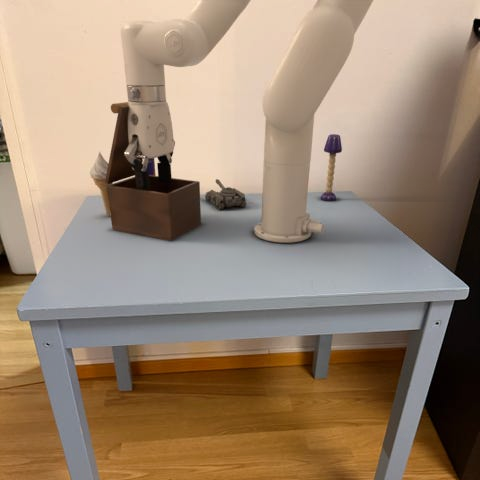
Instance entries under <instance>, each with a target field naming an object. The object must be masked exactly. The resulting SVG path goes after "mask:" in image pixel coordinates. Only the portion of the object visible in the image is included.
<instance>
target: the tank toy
mask: <svg viewBox="0 0 480 480" xmlns="http://www.w3.org/2000/svg"><path fill="white" fill-rule="evenodd" d="M215 184H216V185H218V186H219V188H220V192H219V191H216V190H213V189H210V190H209V191H207V192H205V194H204V198H205V200H206V201H207V202H208V203H210V204H211V205H212V206H214V208H216V209H217V210H218V211H219V210H220V211H221V210H224V209H225V207H228V208H231V207H234V206H235V207H237V206H238V207H239V208H245V207H247V200H246V195H245V193H244V192H242V191H240V190H238V189H236V188H235V187H233V188H232V187H229V186H228V187H227V186H226V187H225V186H224V184H223V183H222V182H221V180H220V179H218V178H216V179H215Z"/></svg>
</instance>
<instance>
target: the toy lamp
mask: <svg viewBox="0 0 480 480" xmlns="http://www.w3.org/2000/svg"><path fill="white" fill-rule="evenodd" d="M341 138H342V137H341V135H340V134H335V133H331V134H329V135H328V136H327V139H326V142H325V144H324V148H323V152H324V153H328V157H329V158H328V166H327V167H328V169H327V177H326V185H325V186H326V187H325V191H324V192H323V193H322V194H321V195H320V200H321V201H325V202H335V201H336V200H337V196H336V194H335V193H334V192H333V186H334V175H335V168H336V157H337V154H341V153H342V151H343V146H342V139H341Z"/></svg>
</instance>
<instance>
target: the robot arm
mask: <svg viewBox="0 0 480 480" xmlns="http://www.w3.org/2000/svg"><path fill="white" fill-rule="evenodd" d="M250 2H251V0H198V1H197V2H196V4H195V5H194V6H193V8H192V9H191V10H190V12H189V13H188V14H187V16H186V17H185V18H184V19H181V18H173V19H166V20H161V21H151V20H150V21H149V20H129V21H124V22H123V23H122V24H121V27H120V37H121V38H120V39H121V47H122V48H121V49H122V55H123V67H124V74H125V75H124V77H125V84H126V94H127V102H128V105H129V111H128V138H129V146H128V147H127V149H126V151H125V157H126V158H127V160H128V161H129V164H130V165H131V166H132V170H133V171H135V176H134V177H135V180H136V188H137V189H140V190H147V191H149V190H150V180H149V171H146V169H147V165H148V160H149V158H151V159H152V158H154V159H156V158H157V160H158V162H157V163H156V166H157V167H156V168H157V176H158V180H159V181H160V182H167V183H170V182H172V178H173V177H172V162H173V158H172V157H173V155H174V150H175V147H176V141H175V139H174V129H173V122H172V115H171V111H170V106H169V103H168V102H167V92H166V90H167V89H166V78H165V77H166V75H165V66H169V67H174V68H186V67H193V66H197V65H199V64H200V63H202V62H203V61H204V60H205V59H206V58H207V57H208V56H209V54H210V53H211V52H212V51H213V49H214V48H216V46H217V45H218V44H219V43H220V41H221V40H222V39H223V38H224V37H225V36H226V34H227V33H228V31H229V30H230V28H231V27H232V26H233V25H234V24H235V22H236V21H237V19H238V18H239V17H240V15H241V14H242V13H243V12H244V10H246V8H247V6H248V5H249V4H250ZM373 2H374V0H317V1H316V2H315V4H314V6H313V7H312V9H311V10H310V11H309V12H307V13H306V14H305V15H304V17H303V18H302V19H301V20H300V23H299V24H298V27H297V28H296V29H295V32H294V33H293V35H292V37H291V39H290V41H289V43H288V45H287V47H286V49H285V51H284V52H283V55H282V57H281V58H280V60H279V62H278V64H277V66H276V68H275V69H274V72H273V74H272V76H271V77H270V79H269V82H268V83H267V85H266V87H265V89H264V92H263V94H262V103H261V104H262V106H261V107H262V112H263V116H264V117H265V125H264V126H265V127H264V143H263V145H264V146H263V167H262V169H263V171H262V197H261V199H262V200H261V222H259V223H256V225H254V227H253V233H254V235H255V236H256V237H258V238H259V239H261V240H264V241H268V242H272V243H280V244H290V243H291V244H292V243H299V242H303V241H305V240H308V239H309V238H310V237H311V236H312V232H313V233H314V234H323V232H324V230H325V225H324V224H323V223H322V221H319V220H312V218H310V215H311V213H310V212H307V206H308V205H307V203H308V193H309V182H310V181H309V180H310V168H311V162H312V161H311V160H312V149H313V148H312V147H313V136H314V123H315V114H316V112H317V111H318V109H319V108H320V106H321V104H322V102H323V101H324V99H325V97H326V96H327V94H328V93H329V91H330V89H331V87H332V86H333V84H334V82H335V80H336V79H337V77H338V76H339V74H340V72H341V71H342V69H343V67H344V65H345V64H346V62H347V60H348V58H349V56H350V54H351V53H352V49H353V46H354V41H355V35H356V32H357V31H358V29H359V27H360V26H361V24H362V22H363V20H364V19H365V17H366V16H367V13H368V11H369V10H370V8H371V5H372V3H373ZM140 159H142V160H143V161H142V164H141V162H140V161H139V160H140Z"/></svg>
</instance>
